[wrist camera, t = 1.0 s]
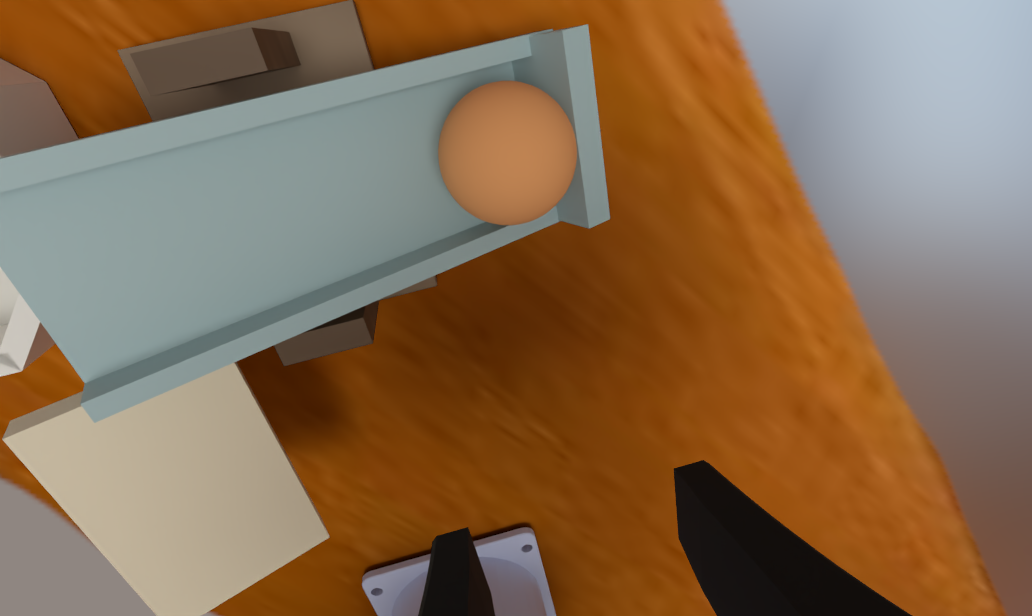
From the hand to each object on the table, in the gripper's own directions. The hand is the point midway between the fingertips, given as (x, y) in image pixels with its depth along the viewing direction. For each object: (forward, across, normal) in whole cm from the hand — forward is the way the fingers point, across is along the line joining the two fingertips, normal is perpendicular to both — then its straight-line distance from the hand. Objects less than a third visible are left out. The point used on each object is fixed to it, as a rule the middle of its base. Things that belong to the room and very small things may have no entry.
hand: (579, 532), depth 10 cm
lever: (+7, +5, -3) cm, 9 cm away
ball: (+6, -1, -6) cm, 9 cm away
